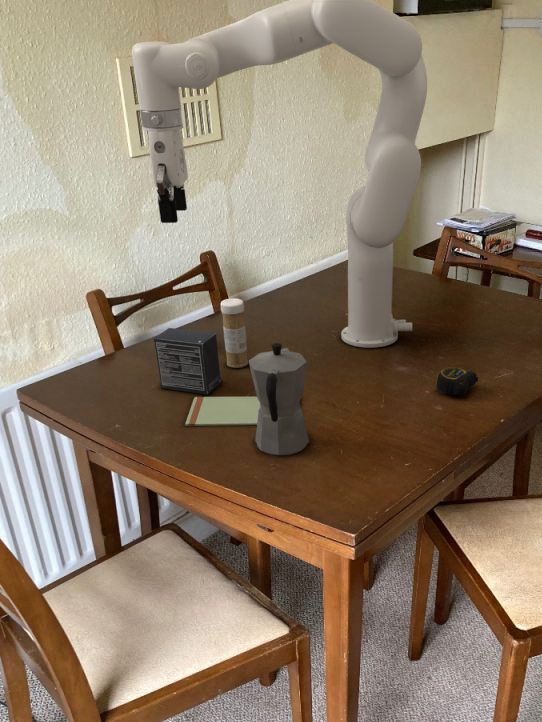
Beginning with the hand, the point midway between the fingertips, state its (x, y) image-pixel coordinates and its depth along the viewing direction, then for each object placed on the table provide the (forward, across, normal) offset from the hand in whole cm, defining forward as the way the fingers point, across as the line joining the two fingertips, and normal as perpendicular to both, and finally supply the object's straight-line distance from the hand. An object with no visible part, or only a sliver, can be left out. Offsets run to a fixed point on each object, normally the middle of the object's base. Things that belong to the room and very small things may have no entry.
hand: (174, 216), depth 152 cm
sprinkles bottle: (+28, -9, -11) cm, 31 cm away
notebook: (+28, -30, -15) cm, 44 cm away
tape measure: (+28, -22, -55) cm, 66 cm away
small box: (+28, -19, -3) cm, 34 cm away
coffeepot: (+28, -43, -23) cm, 56 cm away
